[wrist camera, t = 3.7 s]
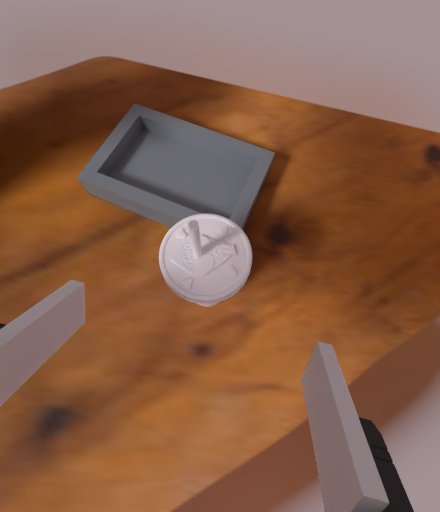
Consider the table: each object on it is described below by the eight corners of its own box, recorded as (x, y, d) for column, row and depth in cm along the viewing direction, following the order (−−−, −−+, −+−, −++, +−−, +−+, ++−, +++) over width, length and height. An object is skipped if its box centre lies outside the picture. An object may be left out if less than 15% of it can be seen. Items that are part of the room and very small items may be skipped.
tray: (89, 194, 30) (76, 177, 27) (140, 123, 34) (134, 103, 31) (233, 253, 28) (235, 241, 25) (269, 170, 32) (275, 152, 29)
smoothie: (173, 263, 27) (137, 179, 14) (232, 254, 28) (251, 165, 15) (180, 325, 25) (145, 294, 12) (245, 314, 25) (280, 272, 12)
